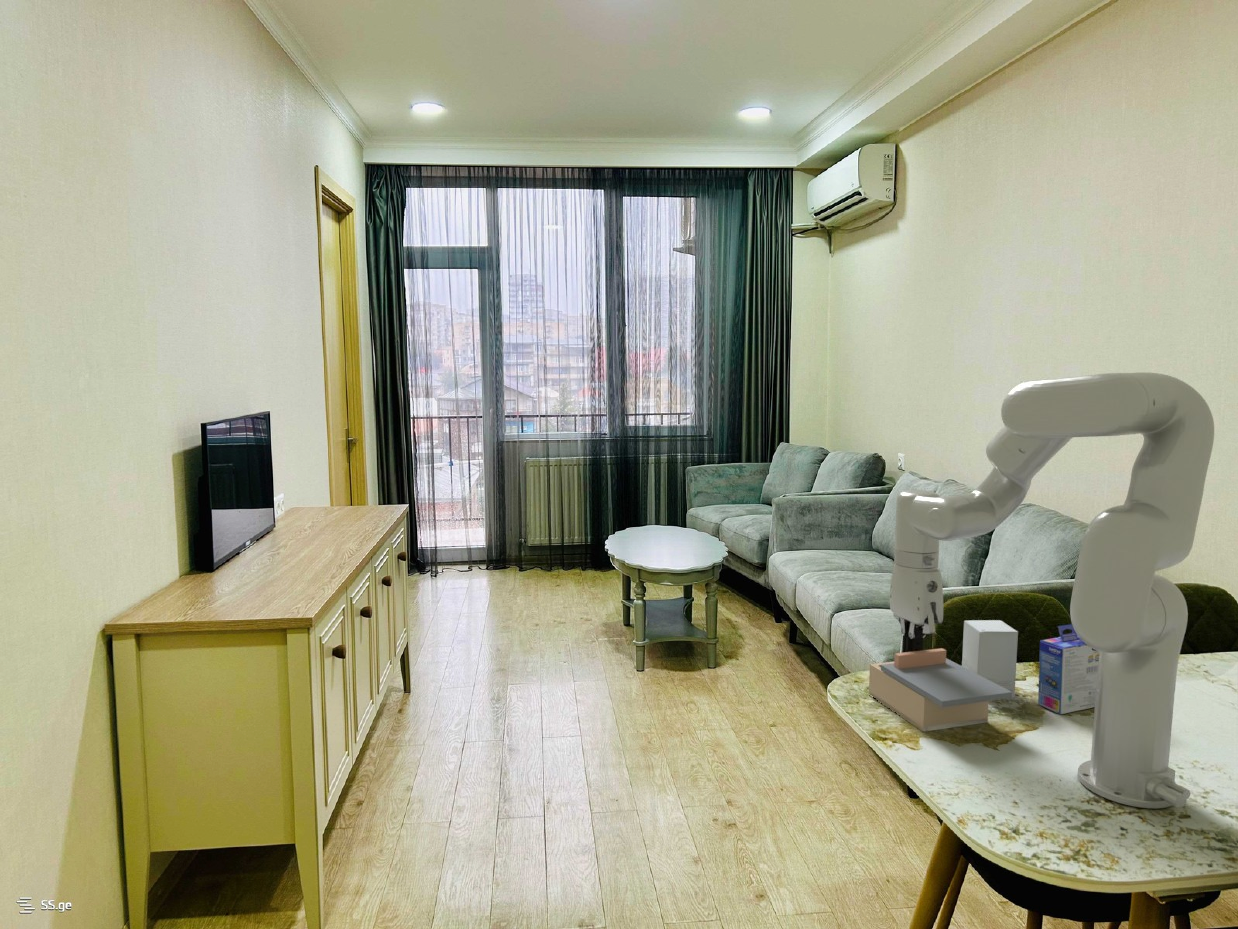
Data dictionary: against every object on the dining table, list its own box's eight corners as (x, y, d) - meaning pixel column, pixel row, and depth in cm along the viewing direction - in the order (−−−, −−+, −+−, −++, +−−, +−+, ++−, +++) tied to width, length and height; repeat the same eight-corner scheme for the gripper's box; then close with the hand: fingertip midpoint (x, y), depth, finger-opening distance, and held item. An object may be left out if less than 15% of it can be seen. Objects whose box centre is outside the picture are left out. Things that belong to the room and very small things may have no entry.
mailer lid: (1011, 698, 137) (1012, 678, 136) (942, 707, 133) (942, 687, 133) (944, 662, 153) (945, 644, 153) (880, 670, 149) (881, 652, 149)
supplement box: (1015, 698, 153) (1019, 631, 151) (975, 697, 153) (978, 631, 151) (998, 682, 160) (1001, 619, 158) (959, 682, 160) (963, 619, 158)
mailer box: (987, 722, 142) (989, 689, 141) (922, 731, 138) (924, 697, 138) (928, 687, 157) (929, 657, 157) (868, 695, 154) (869, 664, 153)
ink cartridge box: (1074, 695, 154) (1079, 620, 152) (1101, 707, 148) (1106, 629, 147) (1034, 703, 150) (1039, 626, 148) (1060, 715, 145) (1066, 635, 143)
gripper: (961, 567, 143) (956, 669, 145) (908, 548, 157) (905, 642, 159) (924, 570, 141) (919, 673, 143) (874, 551, 155) (870, 645, 157)
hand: (912, 656), depth 151 cm, fingers closed
